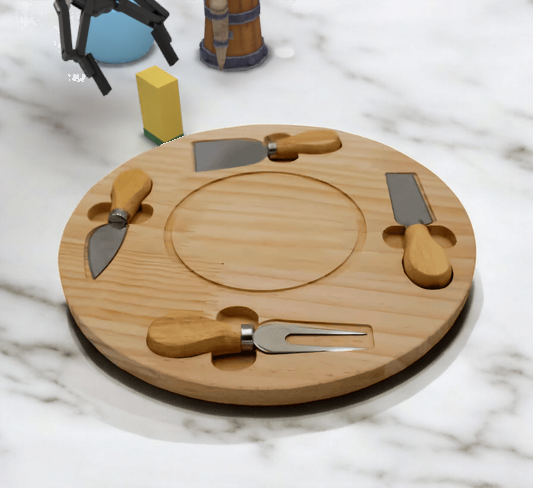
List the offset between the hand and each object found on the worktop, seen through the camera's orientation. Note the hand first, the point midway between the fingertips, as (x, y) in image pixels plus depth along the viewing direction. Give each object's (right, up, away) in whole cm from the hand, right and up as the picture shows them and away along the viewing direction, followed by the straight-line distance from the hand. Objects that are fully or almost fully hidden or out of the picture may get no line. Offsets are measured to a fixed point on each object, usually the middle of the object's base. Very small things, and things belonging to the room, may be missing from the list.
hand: (142, 77), depth 108 cm
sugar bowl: (-10, +13, +27) cm, 32 cm away
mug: (+13, +10, +24) cm, 29 cm away
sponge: (+3, -9, +5) cm, 11 cm away
